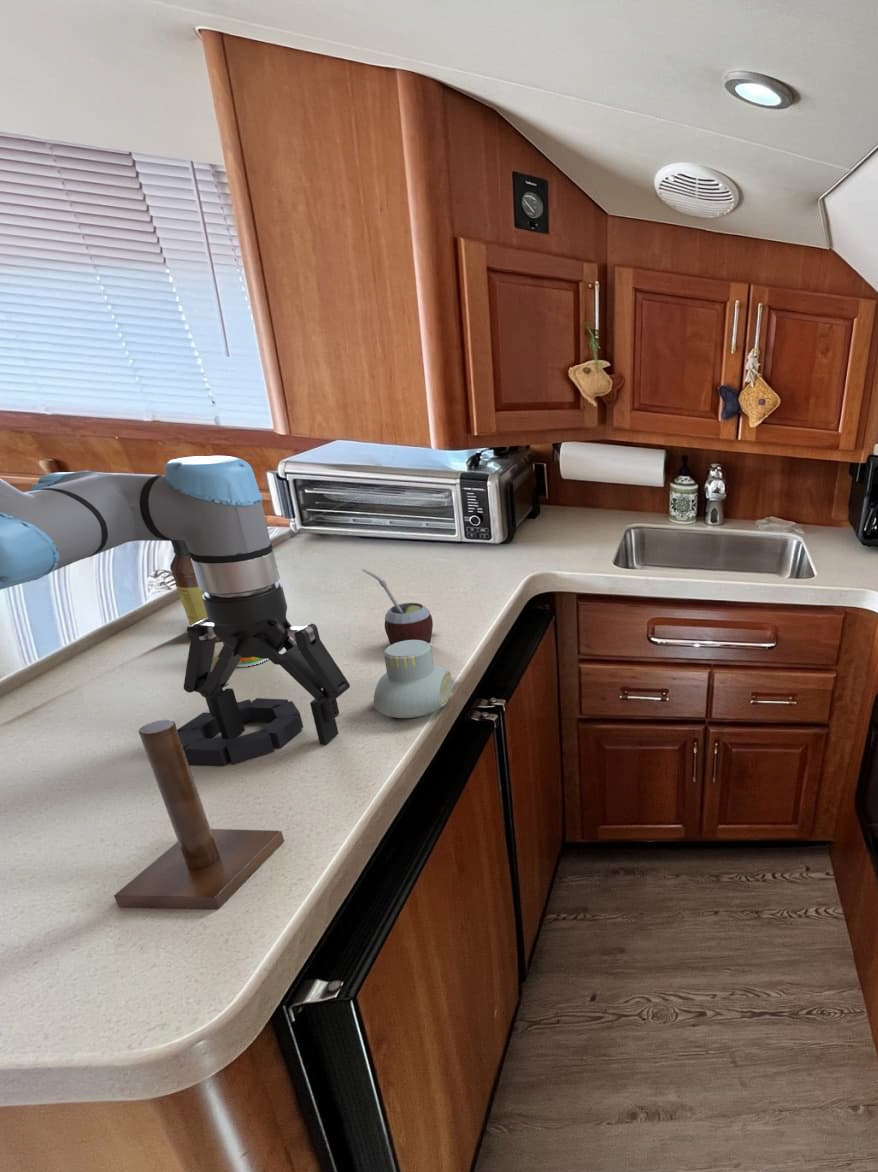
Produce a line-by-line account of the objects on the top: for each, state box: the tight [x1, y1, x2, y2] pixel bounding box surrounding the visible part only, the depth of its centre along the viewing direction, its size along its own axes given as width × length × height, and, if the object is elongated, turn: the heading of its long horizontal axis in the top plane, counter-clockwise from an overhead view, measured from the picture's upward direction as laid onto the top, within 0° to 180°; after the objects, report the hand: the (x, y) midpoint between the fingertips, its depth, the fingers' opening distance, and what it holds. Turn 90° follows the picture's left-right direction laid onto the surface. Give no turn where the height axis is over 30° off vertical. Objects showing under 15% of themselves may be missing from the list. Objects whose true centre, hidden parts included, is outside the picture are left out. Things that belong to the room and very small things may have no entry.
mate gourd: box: [361, 568, 434, 645], centre depth 108 cm, size 8×8×15 cm
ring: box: [177, 697, 304, 767], centre depth 84 cm, size 12×12×2 cm
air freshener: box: [373, 640, 452, 719], centre depth 93 cm, size 11×8×10 cm
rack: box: [113, 719, 285, 910], centre depth 61 cm, size 9×9×18 cm
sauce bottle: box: [169, 540, 221, 642], centre depth 106 cm, size 6×6×20 cm
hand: (282, 737), depth 85 cm, fingers open, 11 cm apart
